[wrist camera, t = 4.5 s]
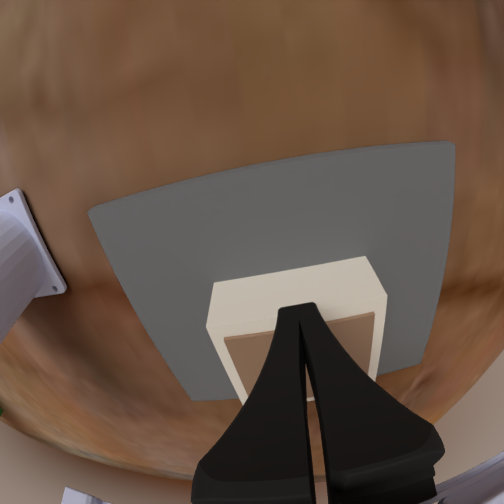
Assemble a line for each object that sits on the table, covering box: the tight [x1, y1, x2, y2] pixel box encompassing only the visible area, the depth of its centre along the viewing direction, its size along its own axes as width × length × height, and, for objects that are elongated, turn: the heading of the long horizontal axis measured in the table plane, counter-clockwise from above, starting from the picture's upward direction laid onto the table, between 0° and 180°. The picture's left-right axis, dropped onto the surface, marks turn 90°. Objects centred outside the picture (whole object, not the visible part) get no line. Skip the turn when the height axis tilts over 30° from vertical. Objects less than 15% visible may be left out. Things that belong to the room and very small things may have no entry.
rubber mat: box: [87, 141, 455, 401], centre depth 18 cm, size 20×18×1 cm
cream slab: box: [206, 256, 387, 405], centre depth 16 cm, size 8×4×8 cm
